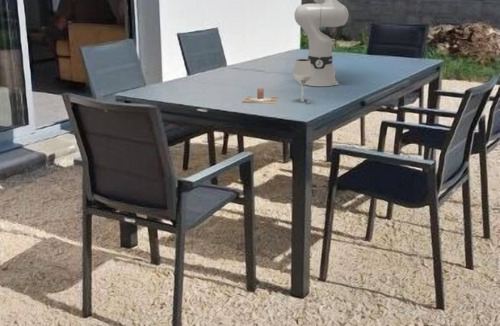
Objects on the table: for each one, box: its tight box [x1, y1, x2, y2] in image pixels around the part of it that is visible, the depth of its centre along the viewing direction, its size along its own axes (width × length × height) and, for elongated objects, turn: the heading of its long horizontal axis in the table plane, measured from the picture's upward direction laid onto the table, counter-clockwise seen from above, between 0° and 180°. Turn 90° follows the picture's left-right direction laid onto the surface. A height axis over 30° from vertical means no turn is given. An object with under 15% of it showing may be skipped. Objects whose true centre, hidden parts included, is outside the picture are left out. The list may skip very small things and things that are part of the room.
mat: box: [241, 96, 280, 105], centre depth 277 cm, size 14×14×1 cm
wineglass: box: [292, 58, 313, 104], centre depth 273 cm, size 8×8×18 cm
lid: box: [249, 88, 272, 102], centre depth 276 cm, size 10×10×5 cm
